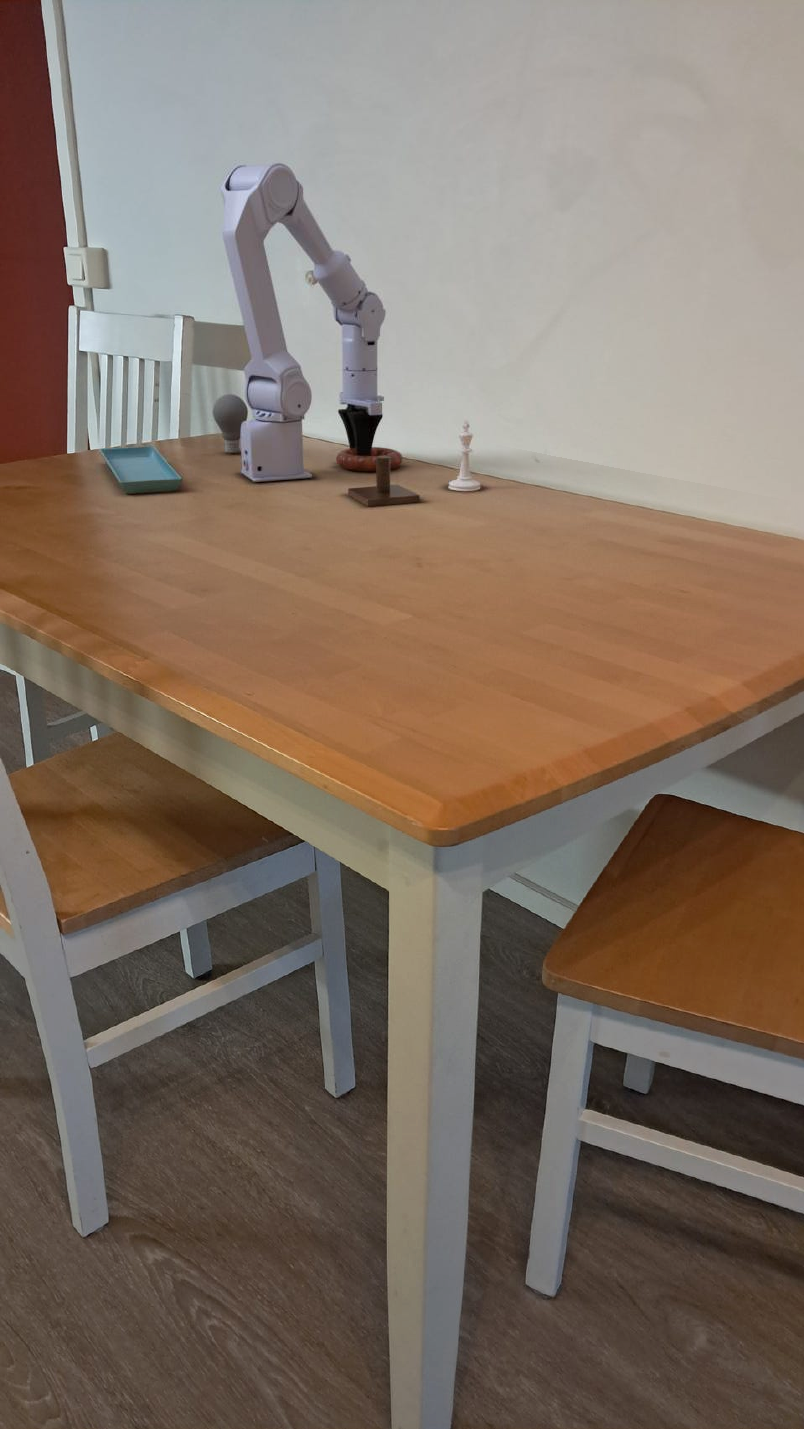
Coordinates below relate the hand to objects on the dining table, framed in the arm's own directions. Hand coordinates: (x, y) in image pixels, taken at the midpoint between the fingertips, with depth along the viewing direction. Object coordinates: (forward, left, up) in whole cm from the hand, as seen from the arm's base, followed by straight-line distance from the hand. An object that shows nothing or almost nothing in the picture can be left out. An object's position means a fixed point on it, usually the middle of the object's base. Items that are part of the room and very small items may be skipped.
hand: (360, 453), depth 180 cm
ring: (0, -4, 0) cm, 4 cm away
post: (-7, -27, -2) cm, 28 cm away
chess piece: (+7, -25, -2) cm, 26 cm away
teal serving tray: (-37, +1, -2) cm, 37 cm away
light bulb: (-18, +16, -2) cm, 24 cm away
